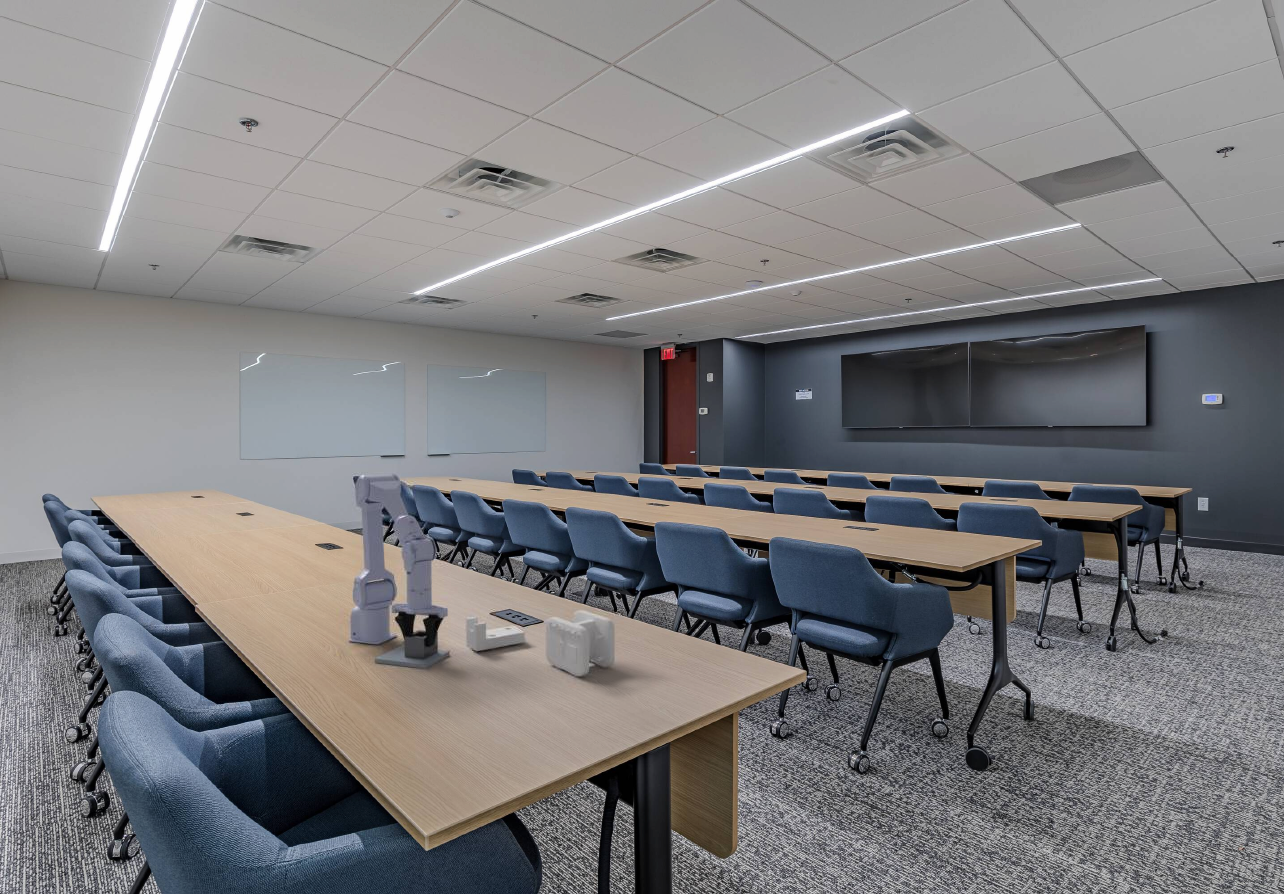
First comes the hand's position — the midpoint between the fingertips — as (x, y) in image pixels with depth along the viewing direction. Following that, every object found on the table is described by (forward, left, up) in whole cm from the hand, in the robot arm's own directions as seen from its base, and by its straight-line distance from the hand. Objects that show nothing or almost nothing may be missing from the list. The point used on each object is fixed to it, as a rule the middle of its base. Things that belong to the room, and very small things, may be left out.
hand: (419, 644), depth 163 cm
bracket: (+12, +15, -4) cm, 20 cm away
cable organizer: (+39, +7, -4) cm, 40 cm away
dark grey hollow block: (0, +1, -3) cm, 3 cm away
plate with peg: (-2, 0, -4) cm, 4 cm away
